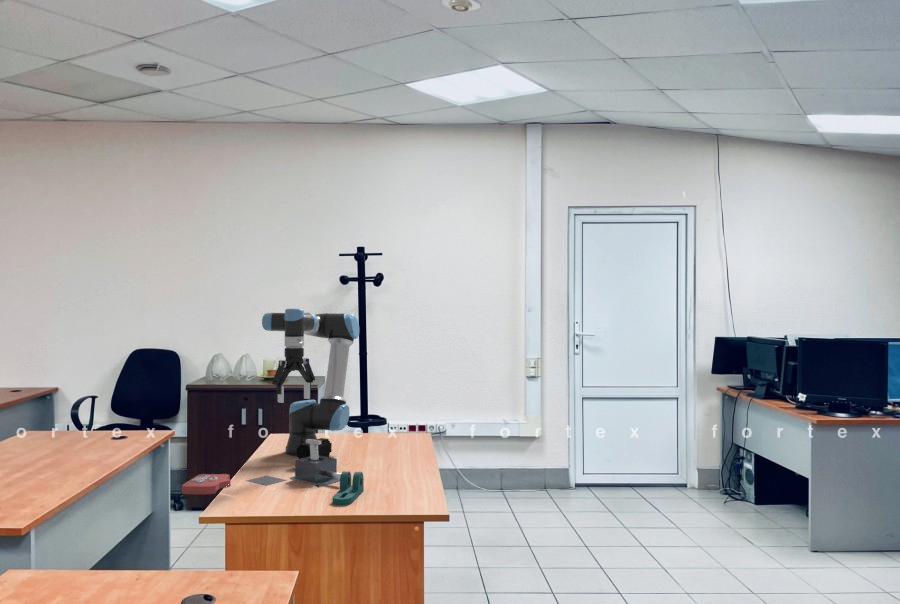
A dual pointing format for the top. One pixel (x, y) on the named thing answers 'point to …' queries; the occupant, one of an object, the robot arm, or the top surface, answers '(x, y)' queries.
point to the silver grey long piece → (314, 448)
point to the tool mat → (266, 480)
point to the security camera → (323, 449)
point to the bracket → (349, 488)
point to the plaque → (206, 484)
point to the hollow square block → (316, 471)
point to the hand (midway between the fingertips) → (294, 400)
